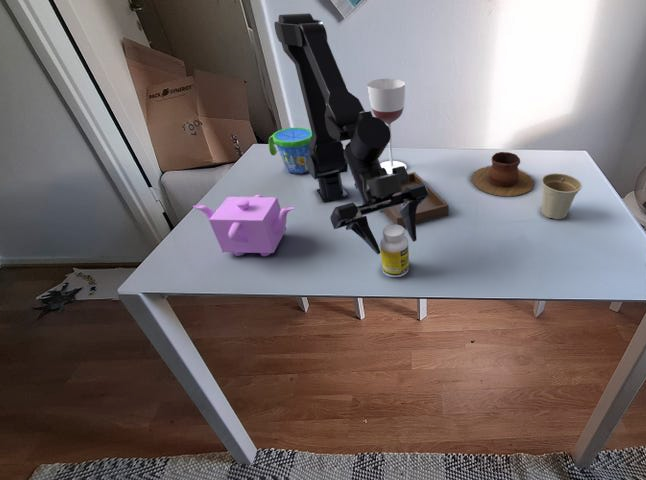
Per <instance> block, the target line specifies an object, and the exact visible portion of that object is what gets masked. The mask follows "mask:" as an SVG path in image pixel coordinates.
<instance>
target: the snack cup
mask: <svg viewBox="0 0 646 480" xmlns="http://www.w3.org/2000/svg"><path fill="white" fill-rule="evenodd" d="M311 136H312V131H311V129H308V128H305V127H299V126H298V127H287V128H282V129H280V130H277V131H275V132H273V134H272V135H271V136H269V138H268V150H269V153H270V155H271V156H276V155H277V152H278V154H279V155H280V157H281V160H282V162H283V165H284V167H285V169H286V170H287V172H288V173H292V174H301V175H303V174H304V173H309V171H308V167H307V160H308V156H309V155H310V153H309V148H308V145H309V142H310V139H311ZM275 145H276V146H275ZM276 147H277V148H276ZM277 150H278V151H277Z"/></svg>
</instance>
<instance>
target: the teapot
mask: <svg viewBox="0 0 646 480" xmlns="http://www.w3.org/2000/svg"><path fill="white" fill-rule="evenodd" d="M192 207H193V208H194V209H196V210H199V211H201V212H202V213H204V215H205V216H206V217H207V219H208V222H209V224H210V226H211V229H212V231H213V233H214V235H215V238H216V240H217V243H218V244H219V247H220V250H221V252H222V253H234V255H235V256H239V257H240V256H244V255H245V254H248V253H249V254H250V253H251V254H252V253H253V254H260V256H262V257H267V256H269V255H271V254H274V253H275V252H276V250H277V247H278V245H279V243H281V240H282V238H283V236H284V234H285V233H286V230H287V217H288V213H289V212H290V211H292V210H294V209H295V208H296V207H294V206H285V207H283V208H282V209H281V206H280V202H279V198H278V197H263V195H262V194H255V195H254V196H227V197H226V198H225V199H224V201H223V202H222V203H221V204H220V206H218V208H217V209H216V210H215V211H214V210H212V209H211V208H210V207H208V206H207V205H203V204H194V205H192Z"/></svg>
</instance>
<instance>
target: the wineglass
mask: <svg viewBox="0 0 646 480" xmlns="http://www.w3.org/2000/svg"><path fill="white" fill-rule="evenodd" d="M367 91H368V99H369V104H370V107H371V111H372V114H373V116H374V117H376V118H379V119H381V120H382V121H383V122H384V123H385V124H386V125H387V126H388V127H389V129H390V133H391V134H392V126H391V124H392V123H394V122H395V121H397V120H398V119H399V118H400V117H401V116H402V115H403V112H404V108H405V101H406V100H405V99H406V83H405V81H403V80H401V79H396V78H379V79H378V78H377V79H374V80H370V81H369V82H368V83H367ZM388 155H389V160H388V161H383V162H380V164H381V167H382V168H385V169H386V171H387V174H392V169H393V168H396V167H400V166H404V167H405V169H406V170H407V164H406V163H404V162H402V161H398V160H394V157H393V141H392V137H391V138H390V141H389V143H388Z"/></svg>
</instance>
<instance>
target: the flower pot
mask: <svg viewBox="0 0 646 480" xmlns="http://www.w3.org/2000/svg"><path fill="white" fill-rule="evenodd" d="M541 184H542V199H541V200H542V201H541V214H542V215H543V216H544V217H546V218H548V219H553V220H563V219H564V218H566V217H567V215H568V213H569V210H570V208H571V206H572V204H573V202H574V200H575V197H576V195H577V194H578V192H579V191H581V189H582V187H583V184H582V182H581V181H580V180H579V179H578V178H577V177H574V176H572V175H569V174H565V173H558V172H557V173H556V172H555V173H548V174H546V175H543V176H542V178H541Z"/></svg>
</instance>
